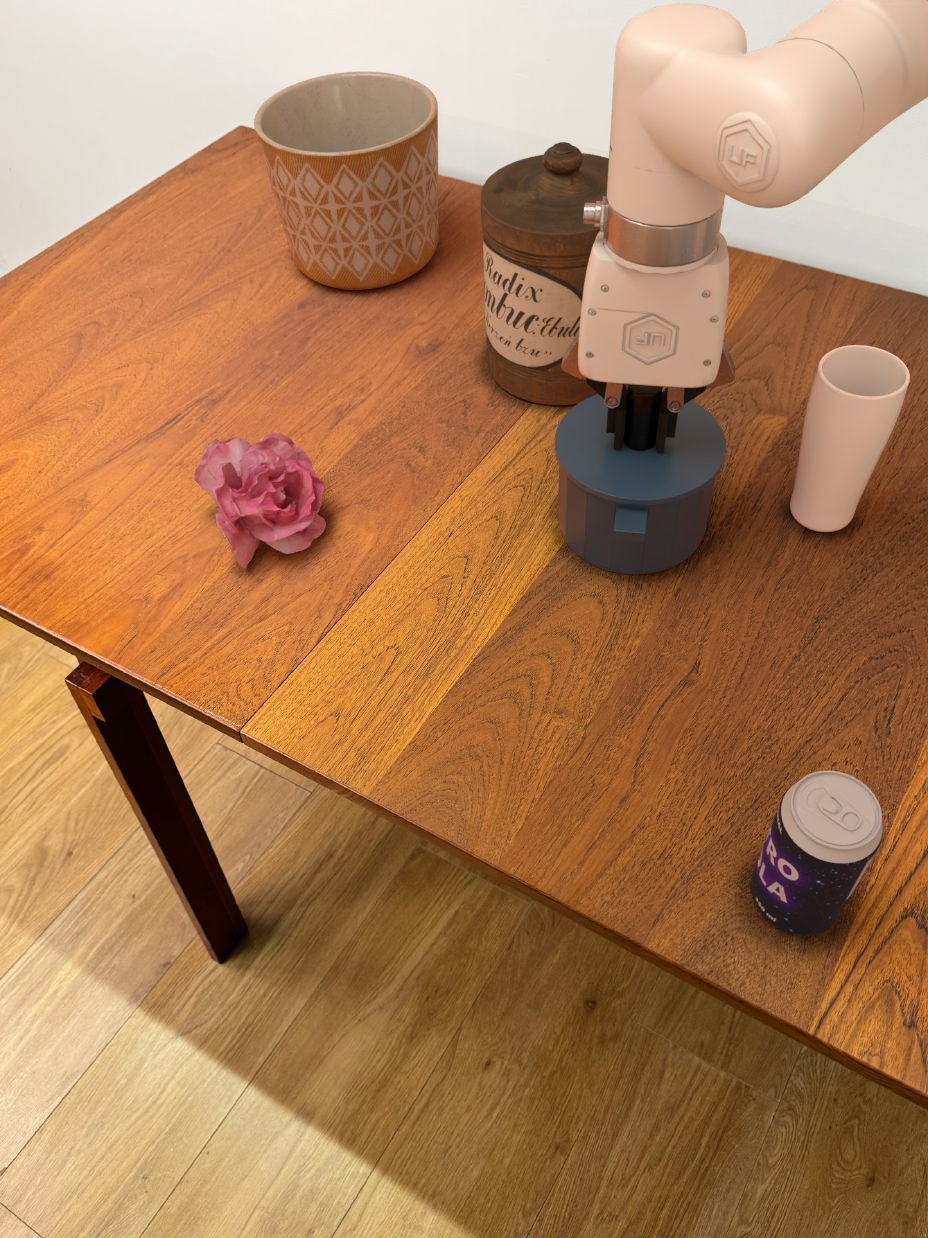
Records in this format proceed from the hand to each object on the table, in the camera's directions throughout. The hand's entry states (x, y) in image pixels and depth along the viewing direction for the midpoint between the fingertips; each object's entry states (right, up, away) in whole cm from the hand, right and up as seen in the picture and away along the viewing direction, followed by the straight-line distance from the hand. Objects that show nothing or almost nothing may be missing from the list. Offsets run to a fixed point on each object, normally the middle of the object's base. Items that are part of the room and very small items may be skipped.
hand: (640, 437), depth 80 cm
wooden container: (-4, +12, +22) cm, 26 cm away
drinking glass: (+17, -6, +7) cm, 19 cm away
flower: (-31, -7, +9) cm, 33 cm away
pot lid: (0, -1, +1) cm, 1 cm away
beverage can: (+7, -33, -15) cm, 37 cm away
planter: (-26, +28, +37) cm, 53 cm away
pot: (+1, -6, +7) cm, 9 cm away
